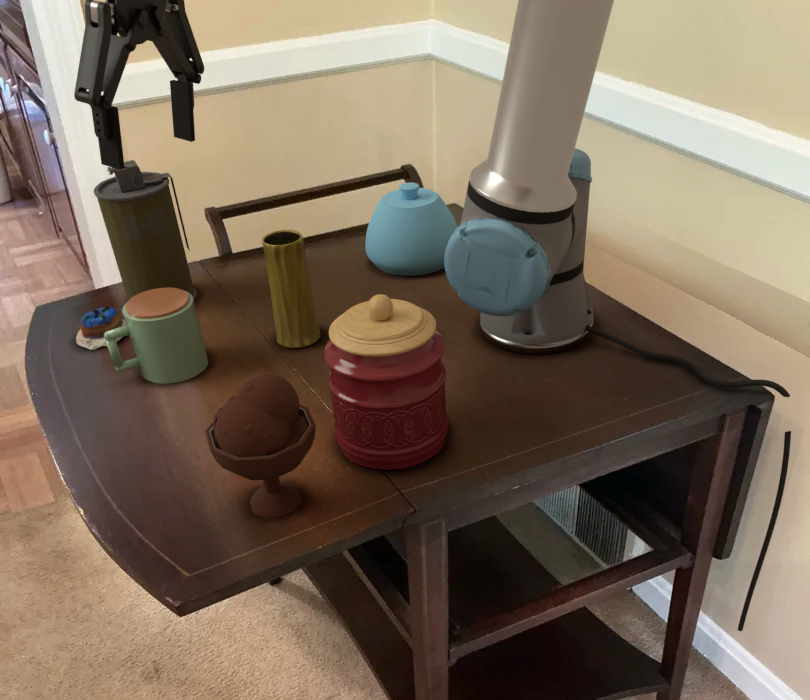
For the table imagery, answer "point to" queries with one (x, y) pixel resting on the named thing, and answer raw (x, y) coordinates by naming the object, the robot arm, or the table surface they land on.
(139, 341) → the mug
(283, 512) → the ice cream bowl
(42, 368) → the table surface
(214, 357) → the table surface
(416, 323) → the kitchen canister
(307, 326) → the vase
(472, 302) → the robot arm
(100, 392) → the table surface
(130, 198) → the canister
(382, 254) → the sugar bowl
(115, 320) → the dessert
